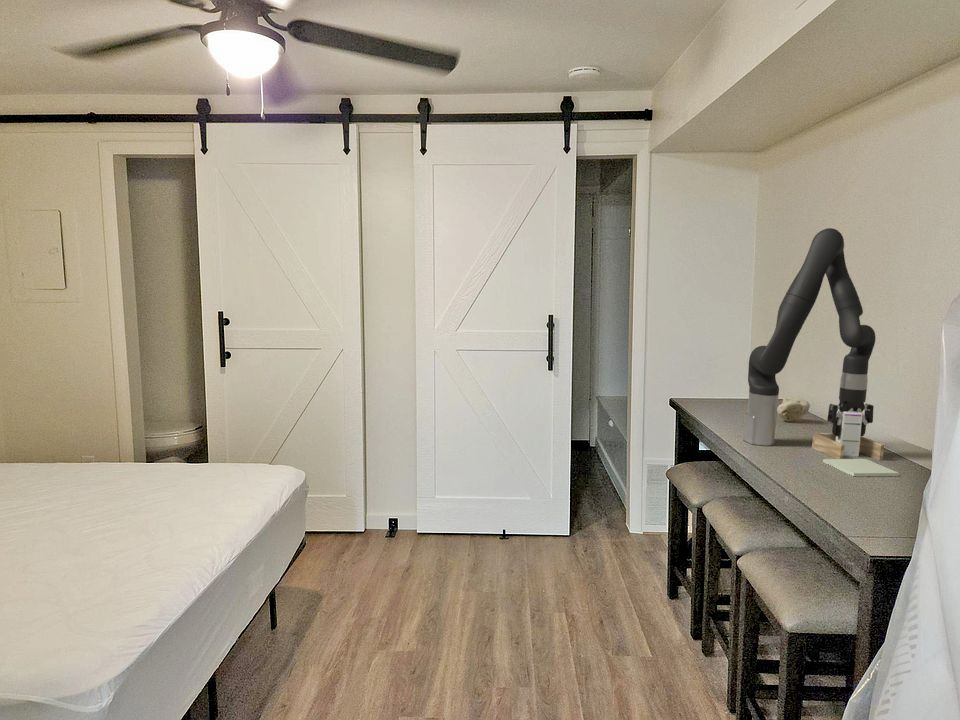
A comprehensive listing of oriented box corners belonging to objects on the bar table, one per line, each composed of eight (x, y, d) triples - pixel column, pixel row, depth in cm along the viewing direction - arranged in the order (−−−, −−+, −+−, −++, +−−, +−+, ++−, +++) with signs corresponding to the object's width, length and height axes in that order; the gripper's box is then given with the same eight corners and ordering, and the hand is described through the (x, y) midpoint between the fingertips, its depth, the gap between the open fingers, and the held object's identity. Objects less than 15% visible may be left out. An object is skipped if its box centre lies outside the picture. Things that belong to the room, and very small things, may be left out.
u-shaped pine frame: (839, 460, 201) (841, 444, 200) (811, 447, 215) (813, 433, 214) (882, 460, 202) (884, 444, 202) (851, 447, 216) (853, 433, 216)
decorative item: (803, 420, 256) (805, 395, 255) (811, 425, 248) (814, 400, 246) (771, 418, 258) (773, 394, 256) (778, 423, 249) (781, 398, 248)
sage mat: (853, 476, 185) (853, 473, 184) (823, 462, 198) (823, 459, 198) (898, 476, 186) (898, 472, 186) (865, 461, 200) (865, 458, 200)
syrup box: (859, 457, 205) (864, 412, 203) (839, 455, 206) (843, 411, 204) (852, 452, 211) (857, 409, 209) (833, 450, 212) (837, 407, 210)
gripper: (840, 389, 201) (835, 439, 204) (882, 388, 203) (876, 438, 205) (825, 384, 209) (820, 433, 211) (865, 384, 210) (860, 432, 213)
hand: (848, 435), depth 208 cm, fingers open, 8 cm apart
